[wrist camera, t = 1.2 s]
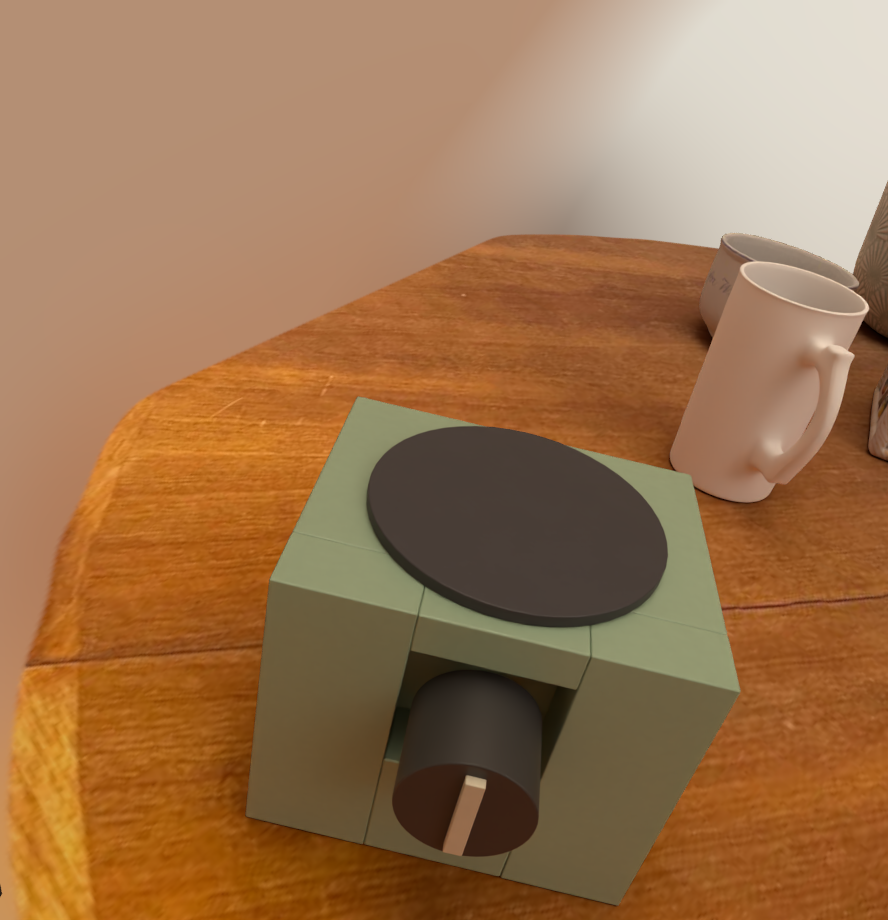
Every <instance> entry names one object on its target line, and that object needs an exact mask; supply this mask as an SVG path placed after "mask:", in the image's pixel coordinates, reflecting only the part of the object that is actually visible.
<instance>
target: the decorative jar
mask: <svg viewBox="0 0 888 920" xmlns="http://www.w3.org/2000/svg"><path fill="white" fill-rule="evenodd" d="M868 447H869V451H870V453H871V454H872V455H874V456H876V457H879V458H882V459H884V460H887V461H888V365H887V368H886V369H885V371H884V373H883V375H882V377H881V379H880V381H879V383H878V385H877V387H876V389H875V391H874V396H873V402H872V411H871V426H870V435H869V445H868Z"/></svg>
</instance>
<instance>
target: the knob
mask: <svg viewBox="0 0 888 920" xmlns="http://www.w3.org/2000/svg"><path fill="white" fill-rule="evenodd" d="M541 746H542V714H541V711H540V708H539V706H538V704H537V702H536V701H535V699H534V698H533V697H532V695H531V694H530V693H529V692H528V691H527V690H526V689H524V688H523V687H522V686H521V685H519V684H518V683H516V682H514V681H513V680H511V679H509V678H507V677H504V676H502V675H499V674H495V673H492V672H487V671H482V670H455V671H450V672H446V673H443V674H440V675H438V676H436V677H434V678H432V679H430V680H429V681H427V682H426V683H425V684H424V685H422V686H421V688H420V689H419V690H418V691H417V693H416V694H415V696H414V698H413V701H412V705H411V710H410V715H409V719H408V724H407V729H406V733H405V738H404V743H403V748H402V752H401V757H400V762H399V766H398V771H397V776H396V781H395V785H394V790H393V795H392V807H393V811H394V814H395V816H396V818H397V820H398V821H399V823H400V824H401V826H402V827H403V828H404V829H405V830H406V831H407V832H408V833H409V834H410V835H411V836H413V837H414V838H416V839H417V840H419V841H420V842H422V843H424V844H426V845H428V846H430V847H432V848H434V849H437V850H440V851H443V852H445V853H449V854H454V855H458V856H469V857H486V856H494V855H499V854H503V853H506V852H509V851H512V850H514V849H516V848H518V847H520V846H521V845H523V844H524V843H525V842H527V841H528V840H529V839H530V837H531V836H532V835H533V833H534V832H535V830H536V828H537V825H538V820H539V799H540V773H541Z"/></svg>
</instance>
